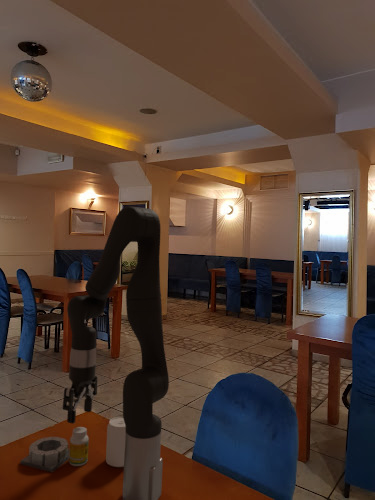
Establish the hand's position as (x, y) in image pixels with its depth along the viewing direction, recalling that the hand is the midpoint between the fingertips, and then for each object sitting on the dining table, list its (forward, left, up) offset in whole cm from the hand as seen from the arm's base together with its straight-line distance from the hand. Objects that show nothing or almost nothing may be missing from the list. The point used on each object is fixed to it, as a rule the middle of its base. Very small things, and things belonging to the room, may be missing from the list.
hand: (79, 416), depth 118 cm
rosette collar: (+9, +2, -13) cm, 16 cm away
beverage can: (-11, -5, -14) cm, 18 cm away
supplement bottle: (0, 0, -14) cm, 14 cm away
